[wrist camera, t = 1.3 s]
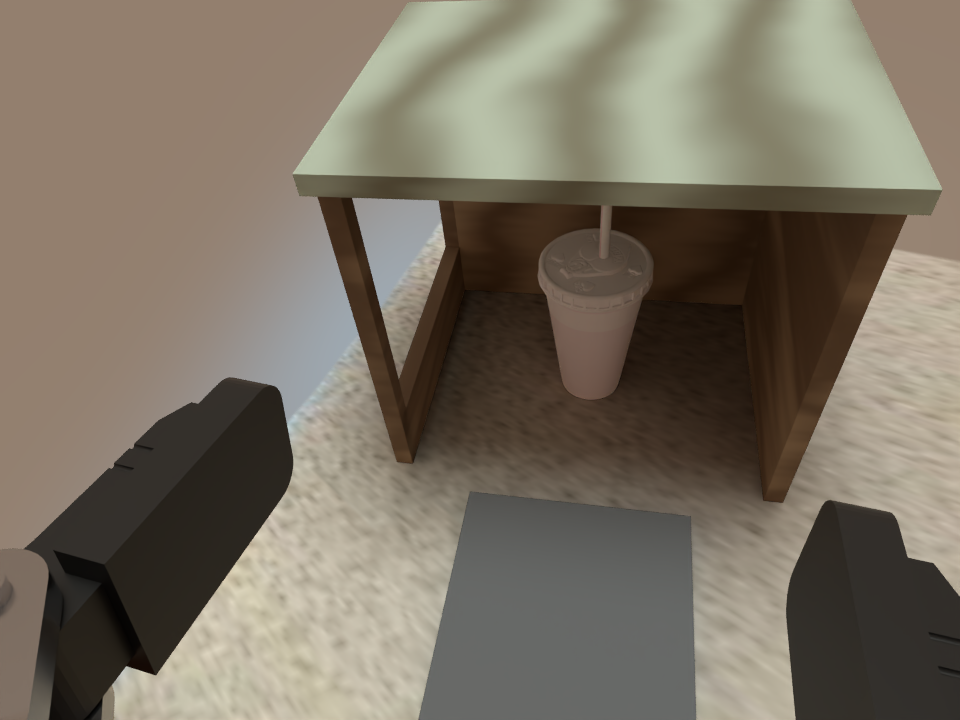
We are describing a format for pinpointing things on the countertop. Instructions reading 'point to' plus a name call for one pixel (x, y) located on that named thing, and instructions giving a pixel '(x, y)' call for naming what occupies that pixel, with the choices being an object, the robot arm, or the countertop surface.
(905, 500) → the countertop surface
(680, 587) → the slate mat
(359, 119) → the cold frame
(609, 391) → the smoothie
